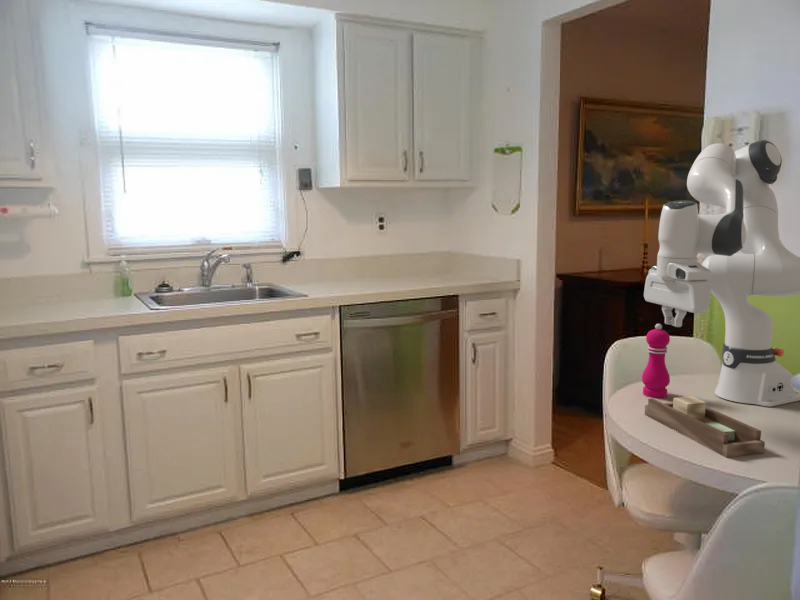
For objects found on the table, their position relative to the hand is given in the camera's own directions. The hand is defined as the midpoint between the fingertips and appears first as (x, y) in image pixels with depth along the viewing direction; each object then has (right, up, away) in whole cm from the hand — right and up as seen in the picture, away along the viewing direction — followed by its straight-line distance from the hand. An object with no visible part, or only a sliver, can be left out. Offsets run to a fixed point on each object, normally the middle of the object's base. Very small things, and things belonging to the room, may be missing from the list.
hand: (673, 325), depth 159 cm
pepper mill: (+4, -20, +21) cm, 30 cm away
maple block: (+2, -22, -4) cm, 22 cm away
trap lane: (+3, -25, -7) cm, 26 cm away
